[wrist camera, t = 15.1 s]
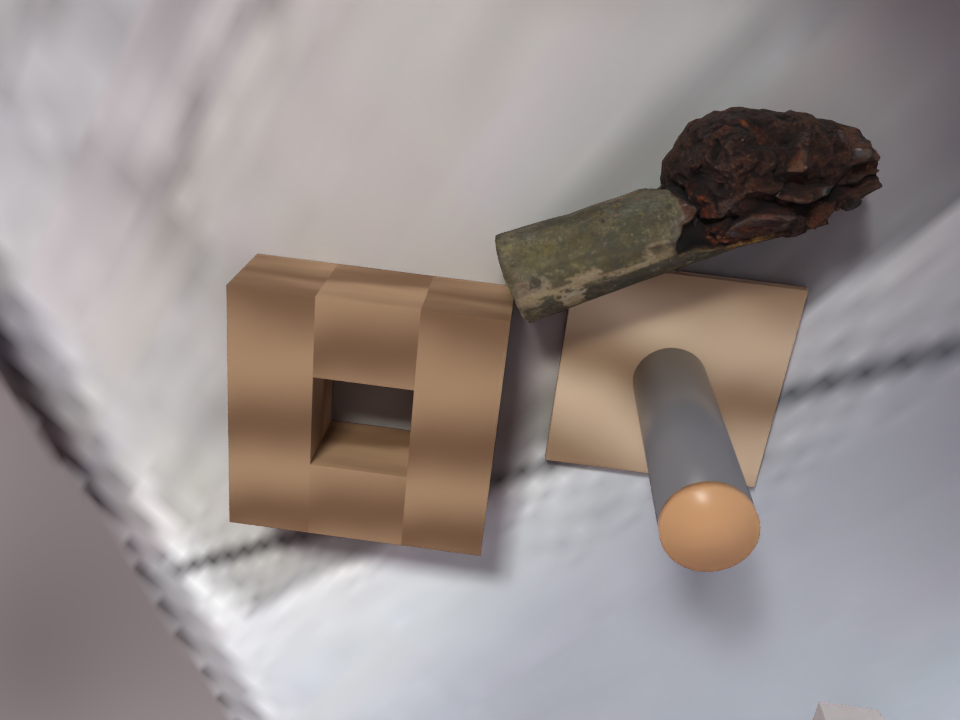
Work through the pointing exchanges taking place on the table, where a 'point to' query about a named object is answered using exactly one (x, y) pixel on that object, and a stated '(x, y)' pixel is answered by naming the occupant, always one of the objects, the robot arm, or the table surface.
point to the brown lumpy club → (694, 207)
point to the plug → (692, 465)
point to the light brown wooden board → (673, 324)
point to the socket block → (367, 360)
